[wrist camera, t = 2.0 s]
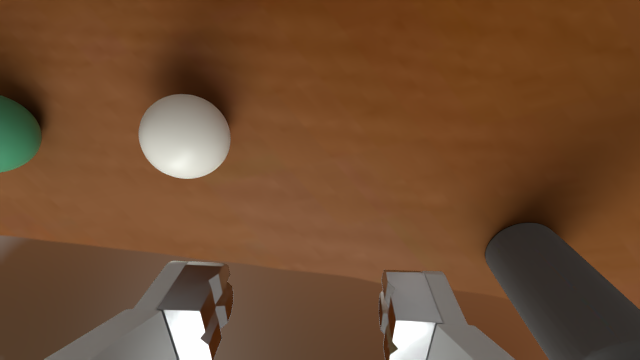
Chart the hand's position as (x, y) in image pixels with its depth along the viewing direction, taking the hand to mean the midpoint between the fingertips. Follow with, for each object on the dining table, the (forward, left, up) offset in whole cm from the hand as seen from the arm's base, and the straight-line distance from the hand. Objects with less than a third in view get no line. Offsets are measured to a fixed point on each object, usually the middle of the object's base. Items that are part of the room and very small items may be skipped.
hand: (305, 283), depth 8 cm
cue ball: (+9, 0, -12) cm, 15 cm away
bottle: (-17, +10, -15) cm, 25 cm away
